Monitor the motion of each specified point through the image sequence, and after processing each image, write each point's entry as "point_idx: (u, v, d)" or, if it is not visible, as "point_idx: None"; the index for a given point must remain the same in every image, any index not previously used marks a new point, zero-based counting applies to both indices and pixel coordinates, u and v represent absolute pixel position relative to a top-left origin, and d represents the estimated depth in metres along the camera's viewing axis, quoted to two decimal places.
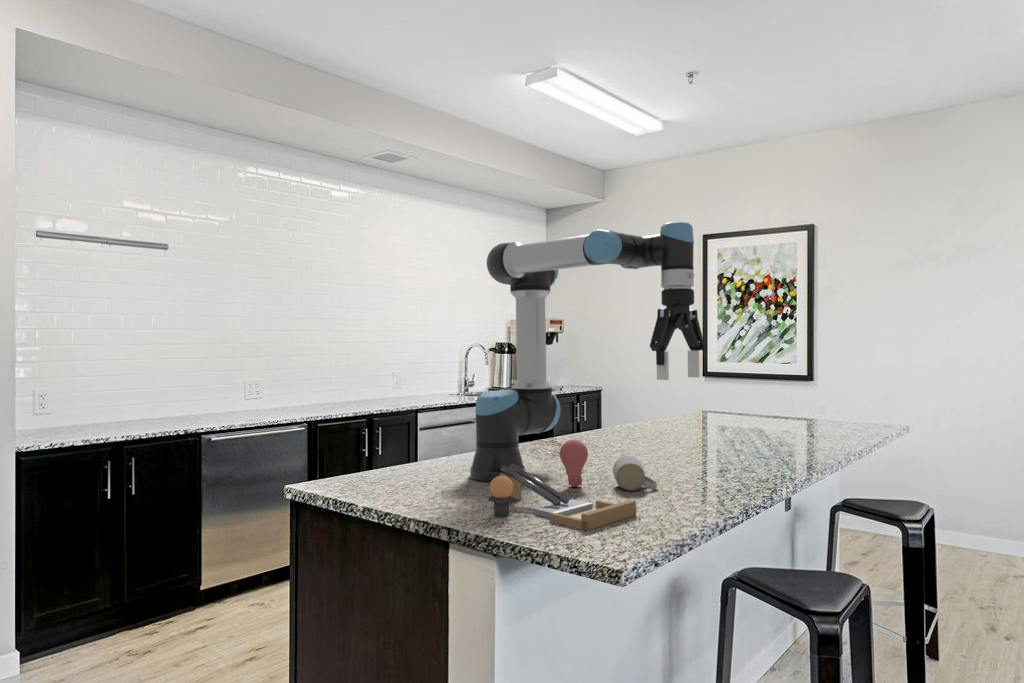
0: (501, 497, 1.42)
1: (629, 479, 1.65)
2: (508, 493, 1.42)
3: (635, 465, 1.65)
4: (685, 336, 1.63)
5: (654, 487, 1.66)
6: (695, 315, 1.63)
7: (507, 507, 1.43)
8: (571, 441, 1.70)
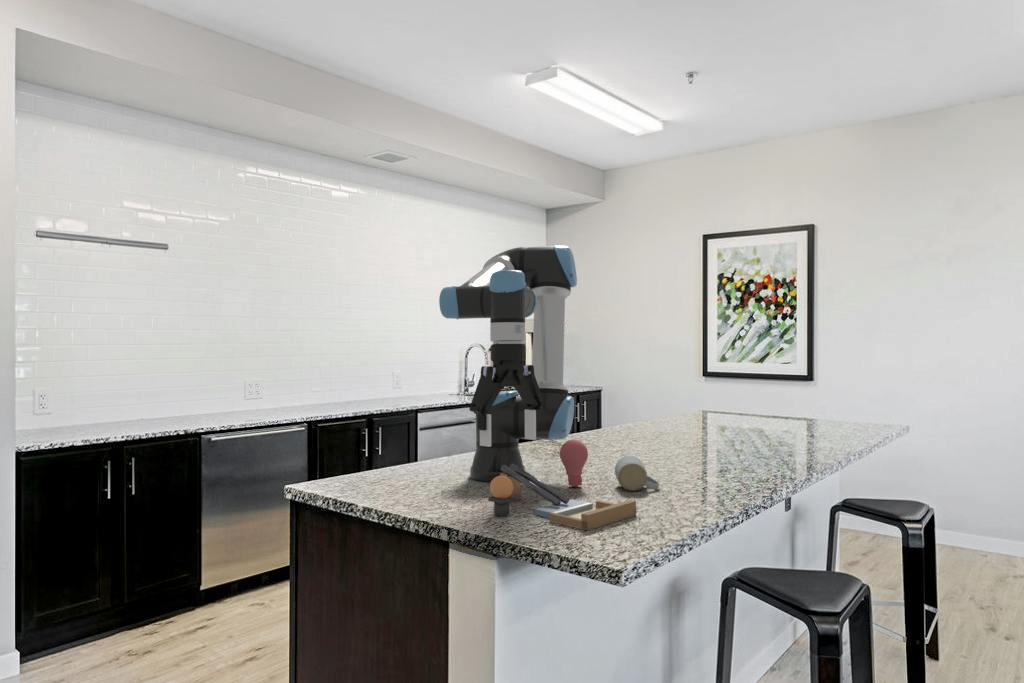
0: (501, 497, 1.42)
1: (631, 479, 1.65)
2: (508, 493, 1.42)
3: (637, 465, 1.65)
4: (520, 394, 1.48)
5: (656, 487, 1.66)
6: (531, 371, 1.48)
7: (507, 507, 1.43)
8: (571, 441, 1.70)
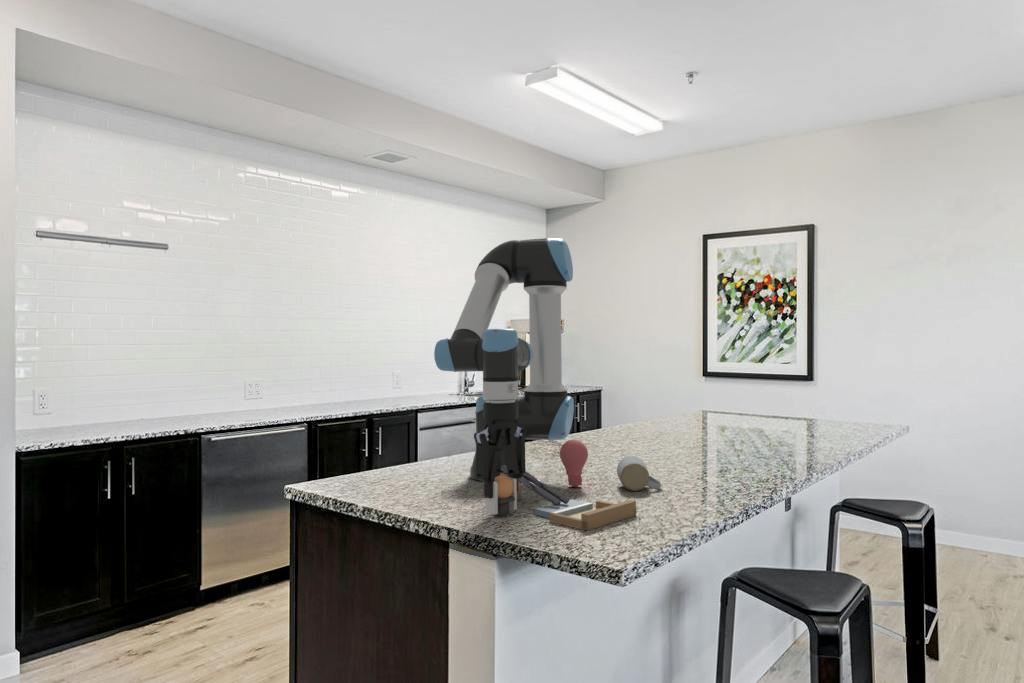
0: (501, 497, 1.42)
1: (633, 479, 1.65)
2: (508, 493, 1.42)
3: (639, 465, 1.65)
4: (505, 457, 1.46)
5: (658, 487, 1.66)
6: (523, 434, 1.47)
7: (507, 507, 1.43)
8: (571, 441, 1.70)
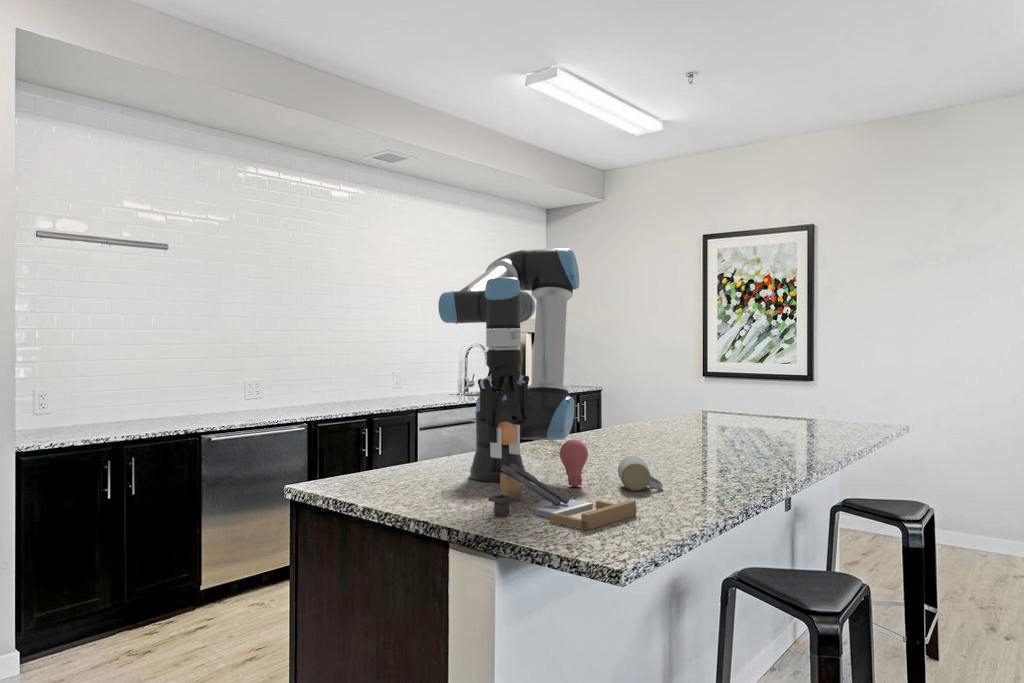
0: (505, 442, 1.45)
1: (635, 479, 1.65)
2: (511, 438, 1.45)
3: (640, 465, 1.65)
4: (509, 403, 1.49)
5: (659, 487, 1.66)
6: (525, 381, 1.50)
7: (507, 507, 1.43)
8: (571, 441, 1.70)
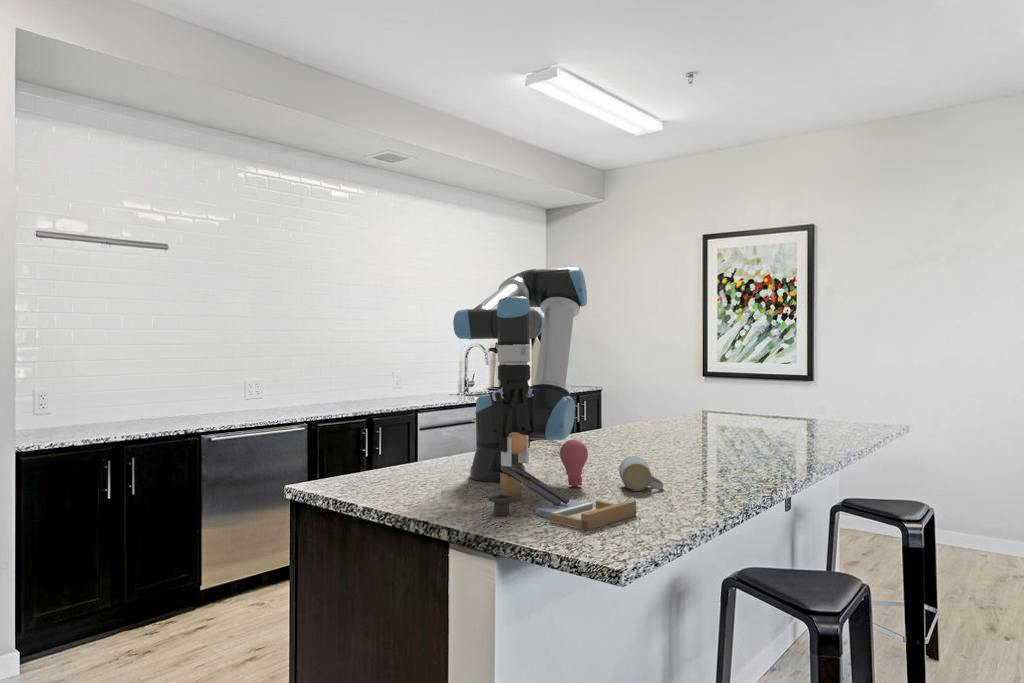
0: (515, 451, 1.55)
1: (636, 479, 1.65)
2: (520, 448, 1.54)
3: (641, 465, 1.65)
4: (518, 415, 1.58)
5: (660, 487, 1.66)
6: (534, 394, 1.59)
7: (507, 507, 1.43)
8: (571, 441, 1.70)
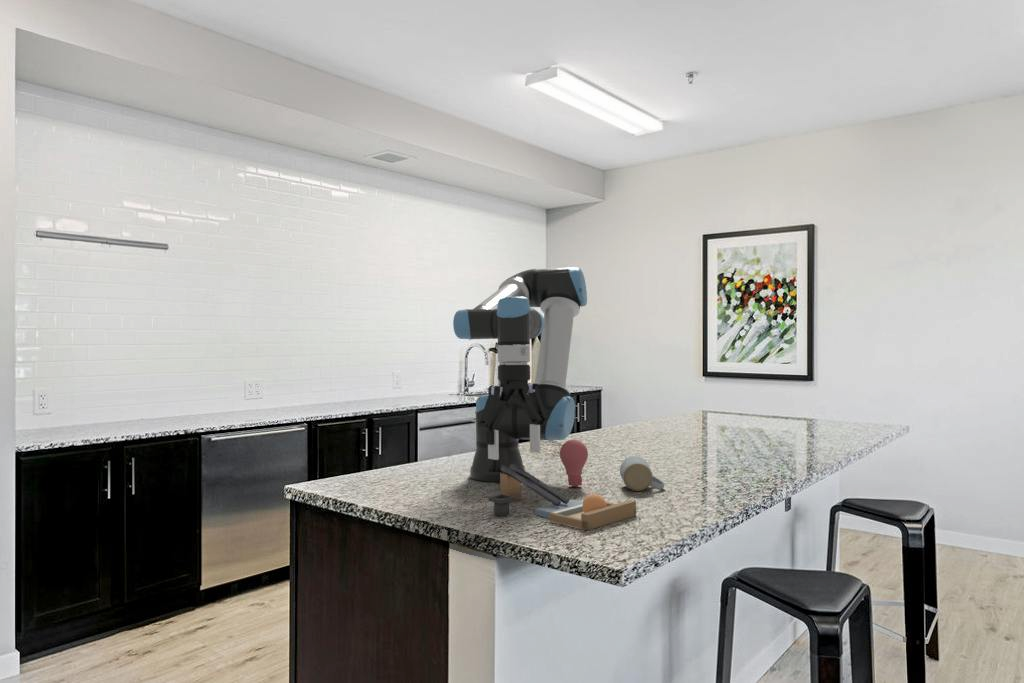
0: None
1: (637, 479, 1.65)
2: None
3: (642, 465, 1.65)
4: (525, 410, 1.60)
5: (661, 487, 1.66)
6: (535, 389, 1.60)
7: (507, 507, 1.43)
8: (571, 441, 1.70)
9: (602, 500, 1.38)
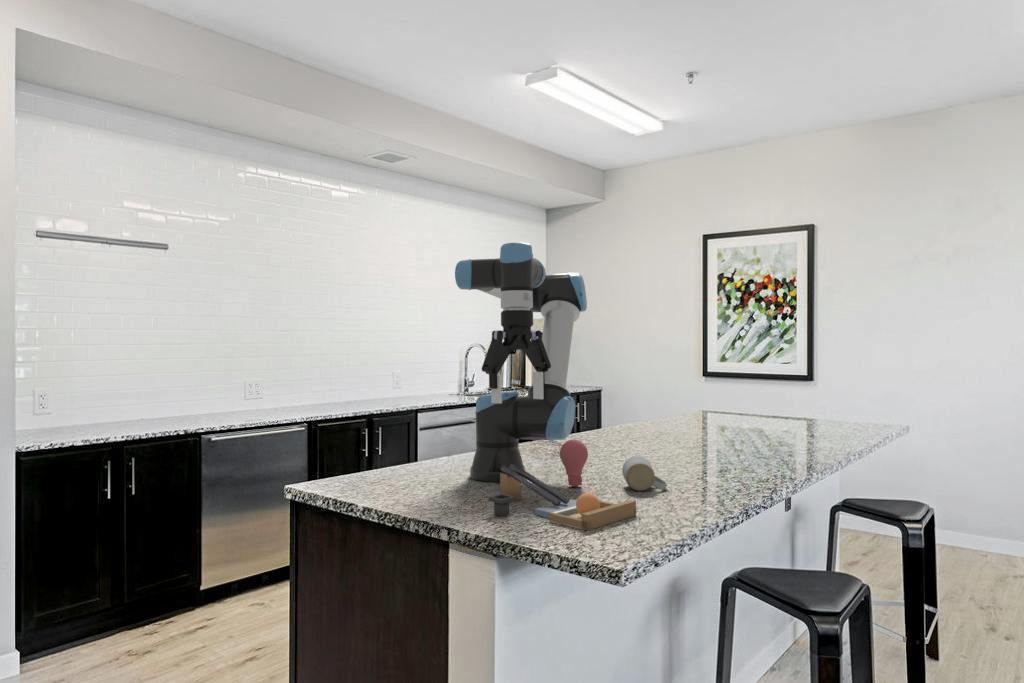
0: None
1: (639, 479, 1.64)
2: None
3: (645, 465, 1.65)
4: (529, 357, 1.61)
5: (664, 487, 1.66)
6: (538, 336, 1.61)
7: (507, 507, 1.43)
8: (571, 441, 1.70)
9: (590, 493, 1.40)
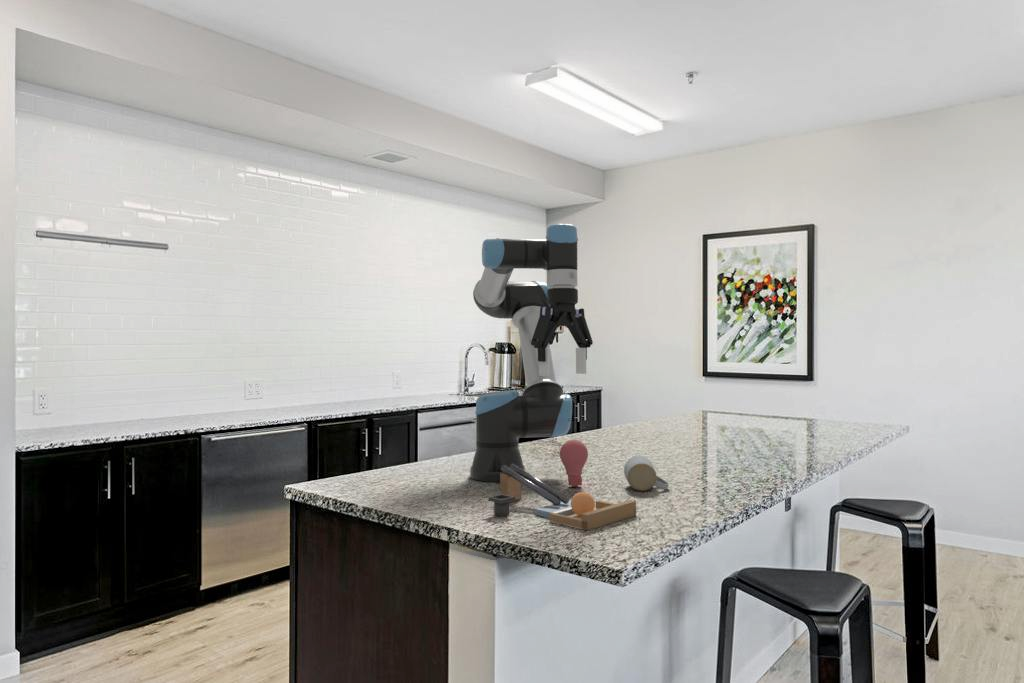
0: None
1: (641, 479, 1.64)
2: None
3: (646, 465, 1.65)
4: (572, 334, 1.69)
5: (665, 487, 1.66)
6: (582, 313, 1.69)
7: (507, 507, 1.43)
8: (571, 441, 1.70)
9: (580, 492, 1.42)
